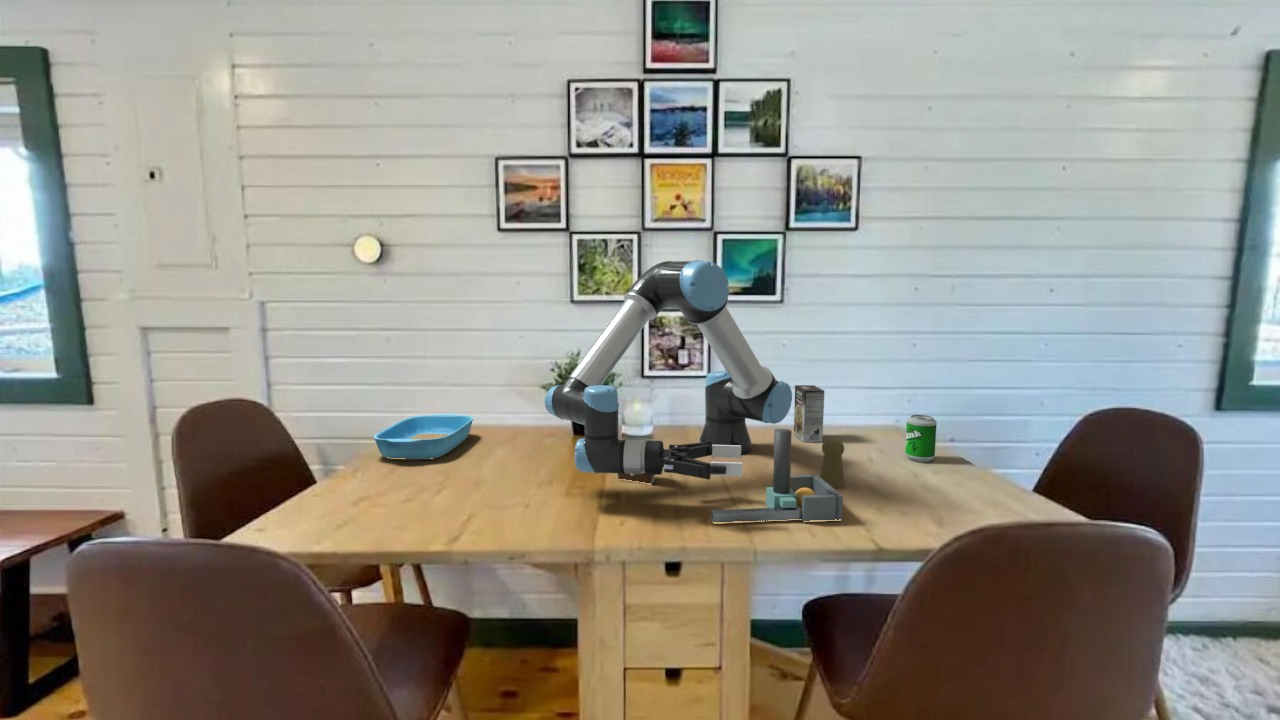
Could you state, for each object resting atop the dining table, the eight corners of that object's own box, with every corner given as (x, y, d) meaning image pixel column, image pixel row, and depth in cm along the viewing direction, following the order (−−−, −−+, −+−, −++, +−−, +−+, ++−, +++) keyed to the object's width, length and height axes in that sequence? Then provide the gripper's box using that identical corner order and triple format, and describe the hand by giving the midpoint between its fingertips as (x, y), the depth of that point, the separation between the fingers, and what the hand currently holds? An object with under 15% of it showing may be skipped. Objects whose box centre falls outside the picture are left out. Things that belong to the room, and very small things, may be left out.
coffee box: (792, 435, 215) (794, 385, 213) (812, 434, 216) (814, 384, 214) (802, 442, 206) (804, 390, 204) (823, 442, 207) (825, 389, 205)
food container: (667, 478, 172) (667, 440, 171) (657, 486, 167) (657, 446, 165) (623, 472, 177) (623, 435, 176) (612, 479, 172) (612, 441, 170)
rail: (713, 524, 142) (713, 513, 141) (711, 521, 144) (711, 510, 143) (801, 520, 144) (802, 509, 143) (798, 517, 146) (798, 506, 145)
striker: (777, 518, 144) (779, 437, 141) (765, 504, 152) (767, 427, 149) (800, 517, 144) (803, 436, 142) (787, 503, 152) (789, 427, 150)
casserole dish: (414, 432, 222) (413, 411, 221) (481, 433, 221) (481, 411, 220) (362, 466, 185) (360, 440, 184) (443, 467, 184) (441, 441, 183)
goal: (803, 523, 142) (804, 497, 141) (781, 498, 157) (781, 475, 156) (842, 521, 143) (842, 496, 142) (816, 497, 158) (816, 474, 157)
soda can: (929, 456, 192) (931, 414, 190) (938, 463, 184) (940, 420, 183) (901, 455, 192) (903, 413, 191) (909, 463, 185) (911, 419, 183)
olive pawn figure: (815, 481, 170) (816, 438, 168) (839, 480, 170) (840, 437, 169) (824, 489, 164) (825, 444, 162) (848, 488, 164) (850, 443, 163)
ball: (819, 485, 149) (823, 507, 150) (801, 482, 153) (804, 503, 153) (805, 494, 146) (809, 516, 146) (787, 490, 150) (790, 512, 150)
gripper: (651, 457, 164) (740, 460, 162) (637, 492, 140) (742, 495, 137) (651, 427, 163) (740, 429, 161) (637, 456, 139) (743, 459, 136)
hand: (741, 460), depth 149 cm, fingers open, 13 cm apart
